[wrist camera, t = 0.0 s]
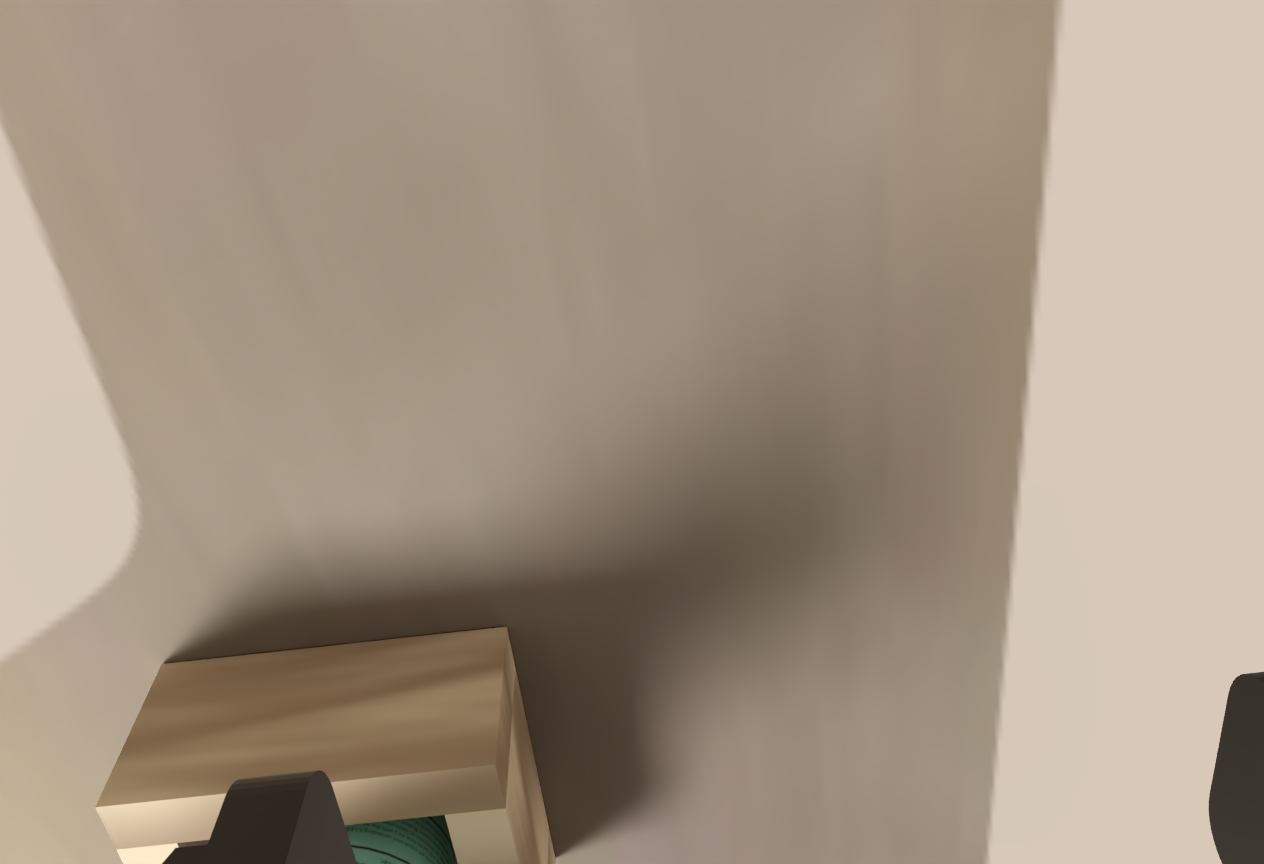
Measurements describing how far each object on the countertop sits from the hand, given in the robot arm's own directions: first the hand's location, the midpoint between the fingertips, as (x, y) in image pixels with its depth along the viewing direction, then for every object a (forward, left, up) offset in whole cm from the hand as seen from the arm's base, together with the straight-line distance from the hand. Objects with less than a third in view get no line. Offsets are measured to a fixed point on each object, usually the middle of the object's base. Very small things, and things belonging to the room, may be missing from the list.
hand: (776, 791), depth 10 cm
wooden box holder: (+17, -10, -17) cm, 26 cm away
